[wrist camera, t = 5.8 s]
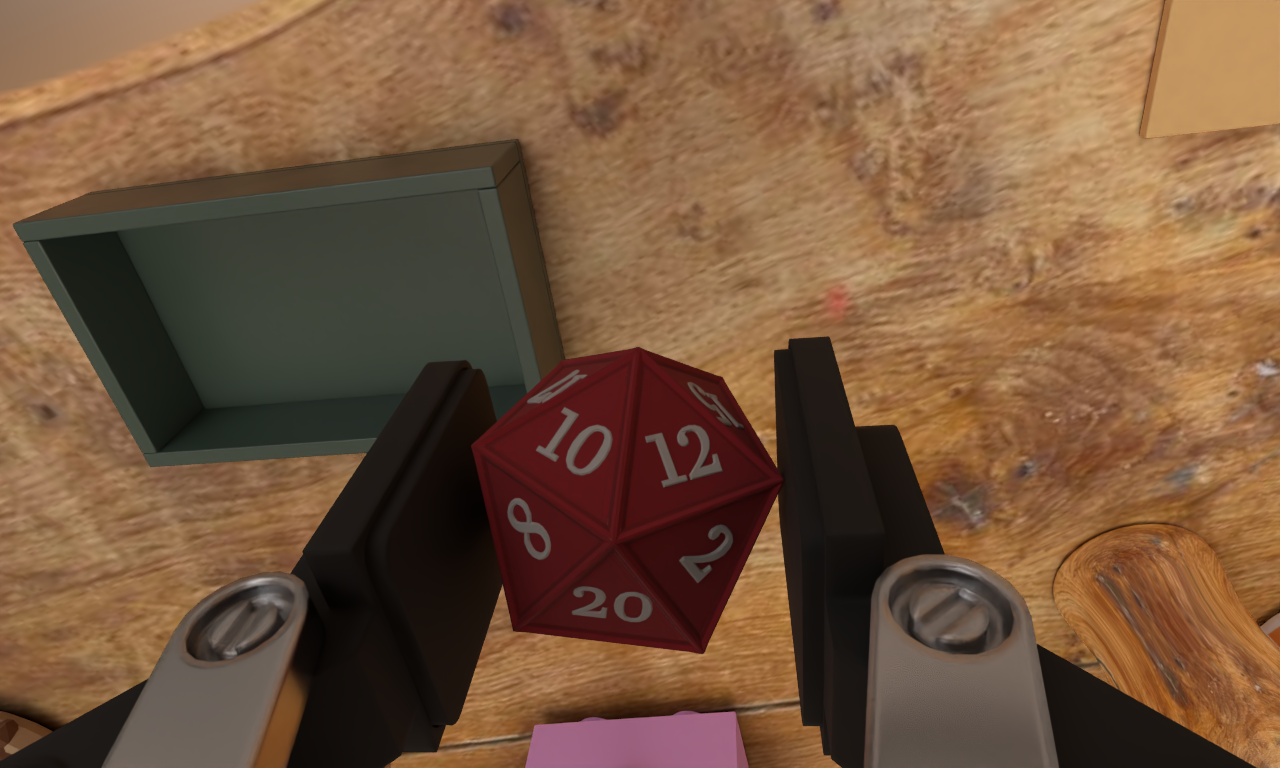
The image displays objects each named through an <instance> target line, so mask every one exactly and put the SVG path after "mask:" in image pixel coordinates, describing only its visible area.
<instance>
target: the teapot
mask: <svg viewBox="0 0 1280 768" xmlns="http://www.w3.org/2000/svg"><path fill="white" fill-rule="evenodd" d="M525 768H749V766H748V762H747V758H746V754H745V750H744V746H743V741H742V737H741V733H740V729H739V725H738V721H737V716H736V712H719V713H704V714H700V713H697V712H694V711H681V712H677V713H675V714H674V715H672V716H659V717H644V718H629V719H614V720H606V719H603V718H598V717H590V718H586V719H583V720H582V721H581V722H571V723H556V724H542V725H535V726H534V730H533V735H532V739H531V744H530V748H529V753H528V757H527V762H526V766H525Z"/></svg>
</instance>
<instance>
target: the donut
mask: <svg viewBox="0 0 1280 768" xmlns="http://www.w3.org/2000/svg"><path fill="white" fill-rule="evenodd" d="M52 732H53V731H51V730H49V729H47V728H45V727H43V726H41V725H39V724H37V723H35V722H32V721H30V720H27V719H24V718H21V717H18V716H16V715H13V714H10V713H6V712H2V711H0V761H1V760H3V759H5V758H7V757H8V756H10V755H12V754H14V753H16V752H17V751H19V750H21V749H23V748H25V747H26V746H28V745H30V744H32V743H34V742H35V741H37V740H39V739H41V738H43V737H44V736H46V735H48V734H50V733H52Z"/></svg>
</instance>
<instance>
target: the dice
mask: <svg viewBox="0 0 1280 768" xmlns="http://www.w3.org/2000/svg"><path fill="white" fill-rule="evenodd" d="M471 448H472V451H473V455H474V458H475V463H476V467H477V472H478V476H479V481H480V485H481V489H482V494H483V498H484V503H485V507H486V512H487V516H488V520H489V525H490V529H491V534H492V538H493V543H494V547H495V552H496V556H497V560H498V565H499V569H500V574H501V578H502V583H503V587H504V591H505V596H506V600H507V605H508V609H509V614H510V618H511V622H512V627H513V631H516V632H529V633H537V634H545V635H554V636H562V637H570V638H579V639H587V640H596V641H604V642H612V643H621V644H629V645H637V646H646V647H654V648H663V649H671V650H679V651H688V652H694V653H699V654H703V653H704V652H705V650H706V647H707V645H708V642H709V640H710V638H711V636H712V634H713V631H714V629H715V627H716V625H717V623H718V621H719V619H720V616H721V614H722V612H723V610H724V608H725V606H726V604H727V602H728V599H729V597H730V595H731V593H732V591H733V589H734V587H735V584H736V582H737V580H738V578H739V576H740V574H741V572H742V570H743V567H744V565H745V563H746V561H747V559H748V557H749V555H750V552H751V550H752V548H753V546H754V544H755V542H756V540H757V537H758V535H759V533H760V531H761V529H762V527H763V525H764V523H765V520H766V518H767V516H768V514H769V512H770V510H771V508H772V505H773V503H774V501H775V499H776V497H777V495H778V493H779V491H780V489H781V487H782V485H783V483H784V481H785V480H784V478H783V477H782V475H781V474H780V472H779V471H778V469H777V467H776V466H775V464H774V462H773V461H772V459H771V457H770V456H769V454H768V453H767V451H766V449H765V448H764V446H763V444H762V443H761V441H760V439H759V438H758V436H757V434H756V433H755V431H754V429H753V428H752V426H751V424H750V423H749V421H748V419H747V418H746V416H745V415H744V413H743V411H742V410H741V408H740V406H739V405H738V403H737V401H736V400H735V398H734V396H733V395H732V393H731V391H730V390H729V388H728V386H727V385H726V383H725V381H724V379H723V377H721V376H716V375H714V374H711V373H708V372H705V371H702V370H700V369H697V368H694V367H691V366H689V365H686V364H683V363H680V362H677V361H675V360H672V359H669V358H666V357H663V356H661V355H658V354H655V353H652V352H649V351H647V350H644V349H642V348H640V347H636V348H633V349H628V350H622V351H616V352H610V353H604V354H598V355H592V356H585V357H579V358H573V359H567V360H562V361H561V362H560V363H559V364H558V365H557V366H556V367H555V368H554V369H553V370H552V371H551V372H550V373H549V374H548V375H546V376H545V377H544V378H543V379H542V380H541V381H540V382H539V383H538V384H537V385H536V386H535V387H534V388H533V389H531V390H530V391H529V392H528V393H527V394H526V395H525V396H524V397H523V398H522V399H521V400H520V401H519V402H518V403H516V404H515V405H514V406H513V407H512V408H511V409H510V410H509V411H508V412H507V413H506V414H505V415H504V416H503V417H501V418H500V419H499V420H498V421H497V422H496V423H495V424H494V425H493V426H492V427H491V428H490V429H489V430H487V431H486V432H485V433H484V434H483V435H482V436H481V437H480V438H479V439H478V440H476V441H475V442H474V443H473V444H472V445H471Z"/></svg>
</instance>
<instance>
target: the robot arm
mask: <svg viewBox="0 0 1280 768" xmlns="http://www.w3.org/2000/svg"><path fill="white" fill-rule="evenodd" d="M774 370H775V403H776V437H777V469H778V471H779V472H780V474H781V475H782V477H783V478H784V480H785V481H784V483H783V485H782V487H781V489H780V491H779V493H778V502H779V517H780V528H781V537H782V546H783V555H784V564H785V573H786V582H787V590H788V599H789V608H790V617H791V626H792V635H793V644H794V653H795V662H796V671H797V680H798V689H799V698H800V707H801V716H802V723H803V726H820V731H821V738H822V746H823V753H824V755H831V759H832V760H833V761H835V762H836V763H837V764H838V765H839V766H841V767H842V768H1257V767H1255V766H1253V765H1252V764H1250V763H1248V762H1246V761H1244V760H1243V759H1241V758H1239V757H1237V756H1236V755H1234V754H1232V753H1230V752H1228V751H1227V750H1225V749H1223V748H1221V747H1220V746H1218V745H1216V744H1214V743H1212V742H1211V741H1209V740H1207V739H1205V738H1203V737H1202V736H1200V735H1198V734H1196V733H1195V732H1193V731H1191V730H1189V729H1187V728H1186V727H1184V726H1182V725H1180V724H1179V723H1177V722H1175V721H1173V720H1171V719H1170V718H1168V717H1166V716H1164V715H1163V714H1161V713H1159V712H1157V711H1155V710H1154V709H1152V708H1150V707H1148V706H1147V705H1145V704H1143V703H1141V702H1139V701H1138V700H1136V699H1134V698H1132V697H1131V696H1129V695H1127V694H1125V693H1123V692H1122V691H1120V690H1118V689H1116V688H1115V687H1113V686H1111V685H1109V684H1107V683H1106V682H1104V681H1102V680H1100V679H1099V678H1097V677H1095V676H1093V675H1091V674H1090V673H1088V672H1086V671H1084V670H1083V669H1081V668H1079V667H1077V666H1075V665H1074V664H1072V663H1070V662H1068V661H1067V660H1065V659H1063V658H1061V657H1059V656H1058V655H1056V654H1054V653H1052V652H1050V651H1049V650H1047V649H1045V648H1043V647H1042V646H1040V645H1038V644H1036V639H1035V633H1034V628H1033V622H1032V617H1031V615H1030V612H1029V610H1028V607H1027V605H1026V602H1025V600H1024V598H1023V597H1022V596H1021V595H1020V593H1019V592H1018V591H1017V590H1016V589H1015V588H1014V586H1013V585H1012V584H1011V583H1010V582H1009V581H1007V580H1006V579H1004V578H1003V577H1002V576H1000V575H999V574H997V573H996V572H995V571H993V570H992V569H990V568H988V567H985V566H983V565H981V564H978V563H976V562H974V561H971V560H969V559H964V558H959V557H955V556H950V555H945V554H944V551H943V548H942V545H941V543H940V540H939V537H938V535H937V532H936V529H935V527H934V524H933V521H932V518H931V516H930V513H929V510H928V508H927V505H926V502H925V500H924V497H923V494H922V491H921V489H920V486H919V483H918V481H917V478H916V475H915V473H914V470H913V467H912V464H911V462H910V459H909V456H908V454H907V451H906V448H905V446H904V443H903V440H902V437H901V435H900V432H899V430H898V428H897V427H896V426H895V425H880V426H859V427H855V425H854V421H853V417H852V414H851V410H850V407H849V403H848V400H847V396H846V393H845V389H844V386H843V382H842V379H841V375H840V372H839V368H838V365H837V361H836V358H835V354H834V351H833V347H832V344H831V340H830V338H829V337H814V338H799V339H789V346H788V349H785V350H774ZM496 422H497V419H496V415H495V411H494V408H493V404H492V400H491V396H490V392H489V388H488V384H487V381H486V377H485V374H484V372H483V371H482V370H481V369H473V368H472V366H471V364H470V363H469V362H468V361H467V360H458V361H442V362H429V363H427V364H426V365H425V367H424V368H423V370H422V371H421V373H420V374H419V376H418V377H417V379H416V380H415V382H414V383H413V385H412V386H411V388H410V389H409V391H408V392H407V394H406V395H405V397H404V398H403V400H402V401H401V403H400V404H399V406H398V407H397V409H396V410H395V412H394V413H393V415H392V416H391V418H390V420H389V421H388V423H387V424H386V426H385V427H384V429H383V430H382V432H381V433H380V435H379V436H378V438H377V439H376V441H375V442H374V444H373V445H372V447H371V448H370V450H369V451H368V453H367V454H366V456H365V457H364V459H363V460H362V462H361V463H360V465H359V466H358V468H357V469H356V471H355V472H354V474H353V476H352V477H351V479H350V480H349V482H348V483H347V485H346V486H345V488H344V489H343V491H342V492H341V494H340V495H339V497H338V498H337V500H336V501H335V503H334V504H333V506H332V507H331V509H330V510H329V512H328V513H327V515H326V516H325V518H324V519H323V521H322V522H321V524H320V525H319V527H318V528H317V530H316V532H315V533H314V535H313V536H312V538H311V539H310V541H309V542H308V544H307V545H306V547H305V548H304V550H303V551H302V552H303V555H302V557H301V558H300V560H299V561H298V563H297V564H296V566H295V567H294V569H293V571H292V572H291V574H289V573H284V572H280V571H279V572H263V573H258V574H254V575H251V576H247V577H243V578H240V579H238V580H236V581H234V582H232V583H229V584H227V585H225V586H223V587H221V588H219V589H218V590H216V591H215V592H213V593H212V594H210V595H209V596H207V597H205V598H204V599H202V600H201V601H200V602H199V603H198V604H197V605H196V606H195V607H194V608H193V609H191V610H190V611H189V612H188V613H187V614H186V615H185V617H184V618H183V619H182V621H181V622H180V624H179V625H178V626H177V628H176V629H175V631H174V632H173V634H172V636H171V638H170V640H169V642H168V644H167V645H166V647H165V649H164V651H163V653H162V655H161V657H160V659H159V660H158V662H157V664H156V666H155V668H154V670H153V672H152V673H151V675H150V677H149V679H147V680H145V681H143V682H142V683H140V684H138V685H136V686H134V687H133V688H131V689H129V690H127V691H125V692H124V693H122V694H120V695H118V696H116V697H115V698H113V699H111V700H109V701H107V702H106V703H104V704H102V705H100V706H98V707H97V708H95V709H93V710H91V711H89V712H88V713H86V714H84V715H82V716H80V717H79V718H77V719H75V720H73V721H71V722H70V723H68V724H66V725H64V726H62V727H61V728H59V729H57V730H55V731H53V732H52V733H50V734H48V735H46V736H44V737H43V738H41V739H39V740H37V741H35V742H34V743H32V744H30V745H28V746H26V747H25V748H23V749H21V750H19V751H17V752H16V753H14V754H12V755H10V756H8V757H7V758H5V759H3V760H1V761H0V768H391V764H390V763H391V762H392V761H394V760H395V759H397V758H398V757H399V756H401V754H402V752H437V750H438V747H439V744H440V741H441V738H442V735H443V732H444V729H445V726H446V725H454V724H456V722H457V721H458V719H459V717H460V714H461V712H462V708H463V705H464V702H465V699H466V696H467V693H468V690H469V687H470V684H471V680H472V677H473V674H474V671H475V668H476V665H477V662H478V659H479V656H480V652H481V649H482V646H483V643H484V640H485V637H486V634H487V631H488V628H489V624H490V621H491V618H492V615H493V612H494V609H495V606H496V603H497V600H498V596H499V593H500V590H501V587H502V584H503V583H502V578H501V574H500V569H499V565H498V560H497V556H496V552H495V547H494V543H493V538H492V534H491V529H490V525H489V520H488V516H487V512H486V507H485V503H484V498H483V494H482V489H481V485H480V481H479V476H478V472H477V467H476V463H475V458H474V455H473V451H472V448H471V445H472V444H473V443H474V442H475V441H476V440H478V439H479V438H480V437H481V436H482V435H483V434H484V433H485V432H486V431H487V430H489V429H490V428H491V427H492V426H493V425H494V424H495V423H496Z"/></svg>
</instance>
